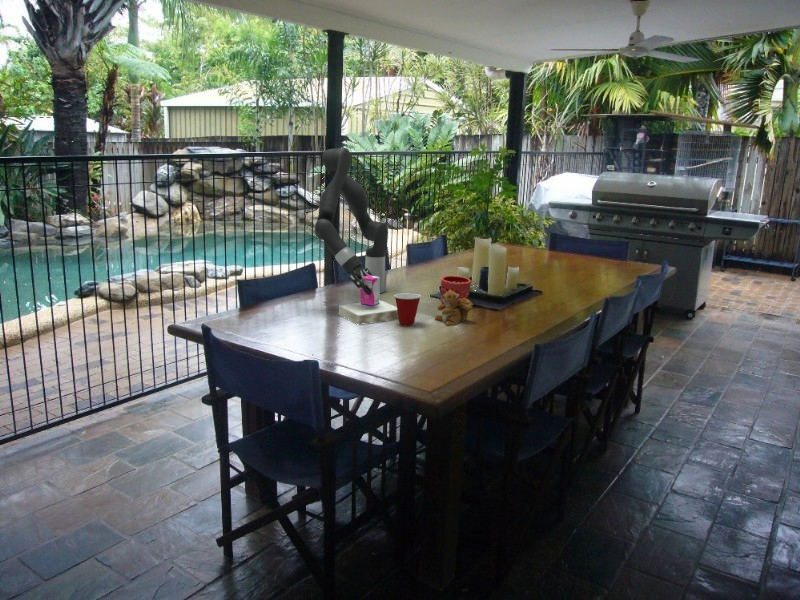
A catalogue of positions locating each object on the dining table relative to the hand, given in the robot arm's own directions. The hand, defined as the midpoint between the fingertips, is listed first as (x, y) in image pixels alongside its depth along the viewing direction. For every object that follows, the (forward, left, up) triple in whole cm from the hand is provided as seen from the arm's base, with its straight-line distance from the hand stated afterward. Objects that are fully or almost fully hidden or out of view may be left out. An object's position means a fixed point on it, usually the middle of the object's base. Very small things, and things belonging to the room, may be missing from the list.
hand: (373, 292), depth 266 cm
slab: (+1, -1, -11) cm, 11 cm away
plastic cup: (-7, +14, -11) cm, 19 cm away
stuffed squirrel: (-26, +20, -11) cm, 35 cm away
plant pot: (-43, -1, -11) cm, 44 cm away
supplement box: (+1, -1, -6) cm, 6 cm away
